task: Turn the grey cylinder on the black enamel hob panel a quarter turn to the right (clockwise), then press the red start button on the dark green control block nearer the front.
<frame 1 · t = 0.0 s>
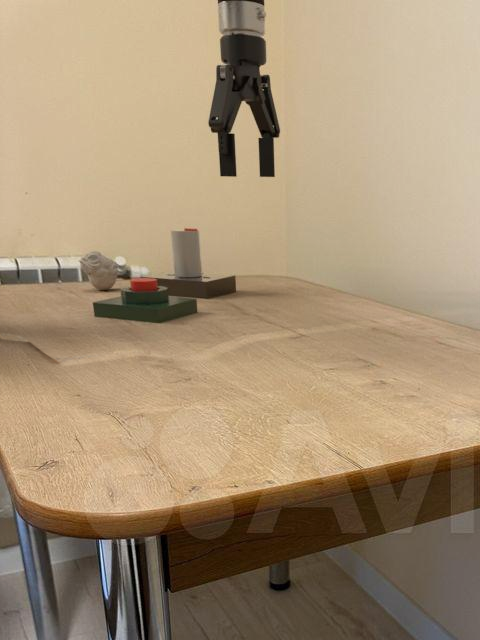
hand: (248, 177, 125), 20 cm above the table, tool pointing down, fingers open, 13 cm apart
grey cylinder: (186, 252, 129), point 7 cm above the table, hinge at 0.0°
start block: (147, 314, 111), on the table
start button: (144, 285, 109), point 4 cm above the table, slide at 0.1 cm
frog figurine: (102, 291, 133), on the table
hob panel: (189, 292, 132), on the table
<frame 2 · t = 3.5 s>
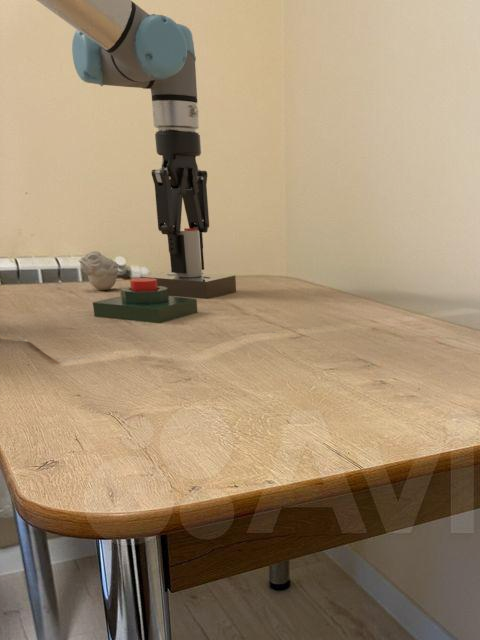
hand: (188, 270, 130), 4 cm above the table, tool pointing down, fingers closed on grey cylinder, 5 cm apart
grey cylinder: (186, 252, 129), point 7 cm above the table, hinge at -0.1°, touching gripper
everything else where it was.
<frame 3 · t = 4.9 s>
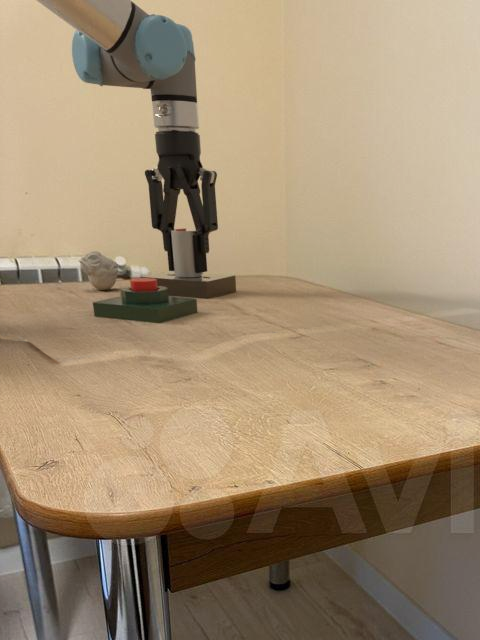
hand: (188, 270, 130), 4 cm above the table, tool pointing down, fingers closed on grey cylinder, 5 cm apart
grey cylinder: (186, 252, 129), point 7 cm above the table, hinge at -90.8°, touching gripper
everything else where it was.
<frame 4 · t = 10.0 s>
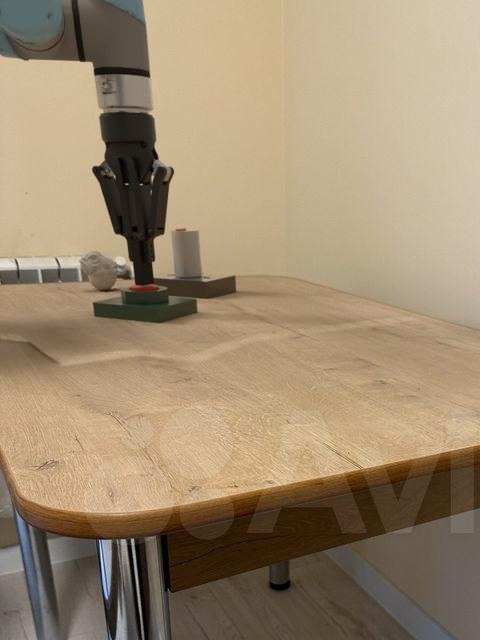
hand: (144, 284, 109), 5 cm above the table, tool pointing down, fingers closed
grey cylinder: (186, 252, 129), point 7 cm above the table, hinge at -91.0°
start button: (144, 291, 109), point 4 cm above the table, slide at -0.8 cm, touching gripper
everything else where it was.
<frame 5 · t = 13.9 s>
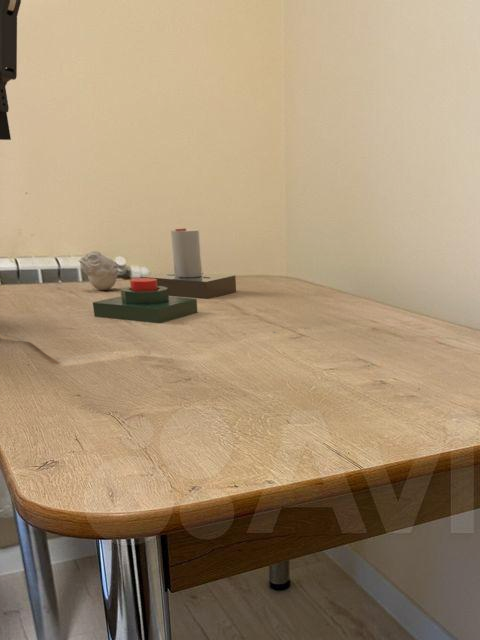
start button: (144, 285, 109), point 4 cm above the table, slide at 0.1 cm
everything else where it was.
at the end: grey cylinder at -91° (first picture: +0°); start button pushed in 1.0 cm at the most during the clip, back to where it started at the end; start button slide at 0.1 cm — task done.
